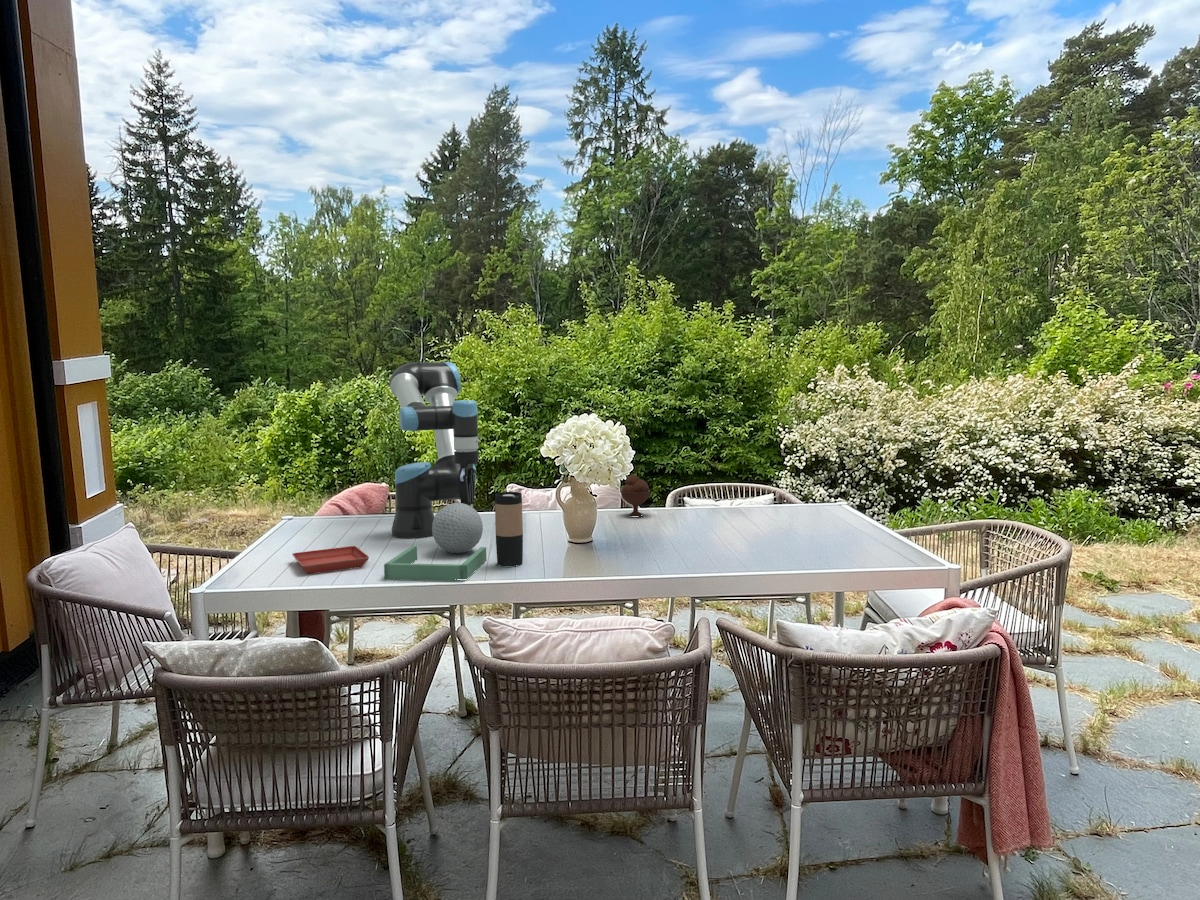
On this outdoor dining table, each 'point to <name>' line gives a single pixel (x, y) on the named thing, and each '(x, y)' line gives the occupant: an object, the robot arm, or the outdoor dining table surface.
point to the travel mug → (509, 528)
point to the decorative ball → (457, 528)
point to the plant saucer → (331, 559)
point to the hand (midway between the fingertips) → (468, 525)
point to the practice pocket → (431, 567)
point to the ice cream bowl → (635, 493)
